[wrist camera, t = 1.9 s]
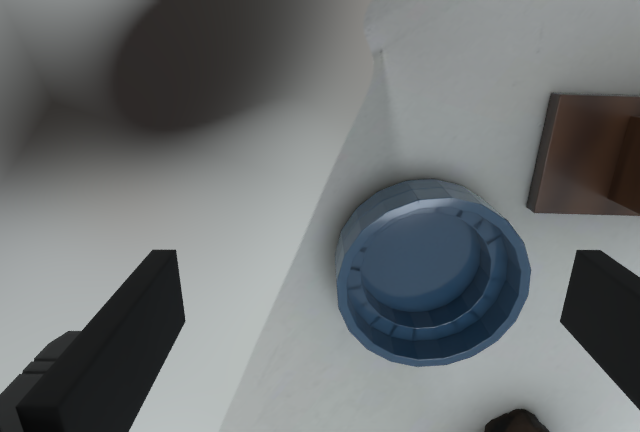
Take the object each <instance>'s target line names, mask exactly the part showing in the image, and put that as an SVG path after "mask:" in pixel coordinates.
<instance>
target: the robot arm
mask: <svg viewBox="0 0 640 432" xmlns="http://www.w3.org/2000/svg"><path fill="white" fill-rule="evenodd" d="M560 322H561V323H562V324H563V325H564V327H565V328H566V329H567V330H568V331H569V332H570V333H571V334H572V335H573V337H574V338H575V339H576V340H577V341H578V342H579V343H580V344H581V345H582V347H583V348H584V349H585V350H586V351H587V352H588V353H589V354H590V355H591V357H592V358H593V359H594V360H595V361H596V362H597V363H598V364H599V365H600V367H601V368H602V369H603V370H604V371H605V372H606V373H607V374H608V375H609V377H610V378H611V379H612V380H613V381H614V382H615V383H616V384H617V385H618V387H619V388H620V389H621V390H622V391H623V392H624V393H625V394H626V395H627V397H628V398H629V399H630V400H631V401H632V402H633V403H634V404H635V405H636V407H637V408H638V409H639V410H640V277H638V276H637V275H635V274H634V273H633V272H631V271H630V270H628V269H627V268H625V267H624V266H622V265H621V264H620V263H618V262H617V261H615V260H614V259H612V258H611V257H609V256H608V255H607V254H605V253H604V252H602V251H601V250H577V252H576V256H575V260H574V264H573V269H572V273H571V277H570V281H569V285H568V290H567V294H566V298H565V302H564V307H563V311H562V315H561V319H560ZM184 323H185V314H184V306H183V299H182V292H181V284H180V277H179V269H178V262H177V255H176V250H152V251H151V252H150V253H149V255H148V256H147V257H146V258H145V259H144V260H143V261H142V263H141V264H140V265H139V266H138V267H137V268H136V269H135V270H134V272H133V273H132V274H131V275H130V276H129V277H128V279H127V280H126V281H125V282H124V283H123V284H122V285H121V287H120V288H119V289H118V290H117V291H116V292H115V293H114V295H113V296H112V297H111V298H110V299H109V300H108V301H107V303H106V304H105V305H104V306H103V307H102V308H101V310H100V311H99V312H98V313H97V314H96V315H95V316H94V317H93V319H92V320H91V321H90V322H89V323H88V325H86V327H85V328H84V329H83V330H82V331H68V332H66V333H65V334H63V335H62V336H60V337H58V338H57V339H55V340H54V341H52V342H51V343H49V344H48V345H47V346H46V347H45V348H44V349H43V350H42V351H41V352H40V353H39V354H38V355H37V356H36V357H35V358H34V362H31V363H30V364H29V365H28V366H27V367H26V368H25V369H24V370H23V373H22V374H19V375H18V376H17V377H16V378H15V380H14V381H13V382H12V383H11V384H10V385H9V386H8V387H7V388H6V389H5V390H4V391H3V392H2V393H1V394H0V432H129V429H130V428H131V426H132V424H133V422H134V420H135V418H136V416H137V414H138V412H139V410H140V408H141V406H142V404H143V403H144V401H145V399H146V397H147V395H148V393H149V391H150V389H151V387H152V385H153V383H154V381H155V379H156V377H157V375H158V373H159V372H160V369H161V368H162V366H163V364H164V362H165V360H166V358H167V356H168V354H169V352H170V350H171V348H172V346H173V344H174V342H175V340H176V338H177V336H178V334H179V332H180V331H181V329H182V327H183V325H184Z"/></svg>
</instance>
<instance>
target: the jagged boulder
mask: <svg viewBox="0 0 640 432" xmlns="http://www.w3.org/2000/svg"><path fill="white" fill-rule="evenodd" d="M485 432H549V430H548V429H547V428H546V427H545V426H544V425H542V424H541V423H540V422H539V421H538V419H537V418H536V416H535V415H534V414H532V413H530V412H528V411H526V410H523V409H516V410H513V411H512V412H510V413H508V414H504V415H502V416H500V417H499V418H496V419H494V420H491V421H490V422H489V423H488V424H487V425H486V427H485Z"/></svg>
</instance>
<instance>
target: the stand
mask: <svg viewBox="0 0 640 432" xmlns="http://www.w3.org/2000/svg"><path fill="white" fill-rule="evenodd" d="M527 208H528V209H530V210H531V211H532V212H534V213H558V214H592V215H627V216H640V96H637V95H604V94H572V93H551V96H550V101H549V106H548V110H547V115H546V120H545V124H544V129H543V134H542V138H541V143H540V147H539V152H538V157H537V161H536V166H535V171H534V175H533V180H532V185H531V189H530V194H529V199H528V203H527Z"/></svg>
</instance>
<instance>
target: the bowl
mask: <svg viewBox="0 0 640 432" xmlns="http://www.w3.org/2000/svg"><path fill="white" fill-rule="evenodd" d="M335 266H336V281H337V296H338V307H339V310H340V312H341V315H342V317H343V319H344V321H345V323H346V325H347V328H348V330H349V331H350V332H351V333H352V334H353V335H354V336H355V337H356V338H357V339H358V340H359V342H360V343H361V344H362V345H363V346H364V347H365V348H366V349H368V350H370V351H371V352H373V353H375V354H377V355H379V356H381V357H383V358H385V359H387V360H389V361H391V362H396V363H401V364H405V365H410V366H415V367H422V366H439V365H448V364H451V363H454V362H457V361H460V360H463V359H467V358H470V357H472V356H474V355H476V354H477V353H479V352H481V351H482V350H484V349H485V348H487V347H489V346H490V345H492V344H494V343H495V342H496V341H498V340H499V339H500V338H501V337H502V336H503V334H504V333H505V332H506V331H507V330H508V329H509V328H510V327H511V326H512V325H513V324H514V323H515V321H516V320H517V318H518V316H519V313H520V311H521V309H522V307H523V305H524V303H525V301H526V299H527V297H528V292H529V283H530V274H531V267H530V263H529V260H528V256H527V252H526V248H525V244H524V242H523V241H522V239H521V238H520V237H519V235H518V234H517V233H516V231H515V230H514V229H513V227H512V226H511V224H510V223H509V222H508V221H507V220H506V219H505V218H504V217H503V216H502V215H501V214H499V213H498V212H497V211H496V210H495V209H494V208H493V207H492V206H490V205H489V204H488V203H487V202H486V201H485V200H484V199H482V198H481V197H479V196H478V195H476V194H474V193H473V192H471V191H470V190H468V189H467V188H465V187H463V186H461V185H458V184H454V183H450V182H446V181H442V180H438V179H423V180H409V181H404V182H401V183H399V184H396V185H393V186H391V187H388V188H386V189H383V190H380V191H378V192H377V193H376V194H374V195H373V196H372V197H370V198H369V199H368V200H367V201H365V202H364V203H363V204H361V205H360V206H359V207H358V208H357V209H356V210H355V211H354V213H353V214H352V216H351V217H350V219H349V220H348V222H347V223H346V224H345V226H344V227H343V229H342V231H341V234H340V237H339V241H338V244H337V248H336V251H335Z"/></svg>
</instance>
